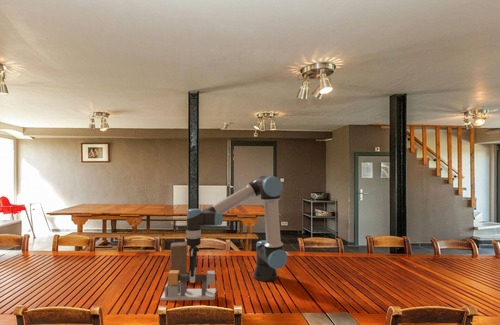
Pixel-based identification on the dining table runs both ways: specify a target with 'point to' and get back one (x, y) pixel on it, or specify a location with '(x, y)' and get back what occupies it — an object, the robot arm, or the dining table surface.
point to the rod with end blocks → (176, 277)
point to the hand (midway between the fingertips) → (192, 280)
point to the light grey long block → (187, 292)
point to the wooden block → (179, 257)
